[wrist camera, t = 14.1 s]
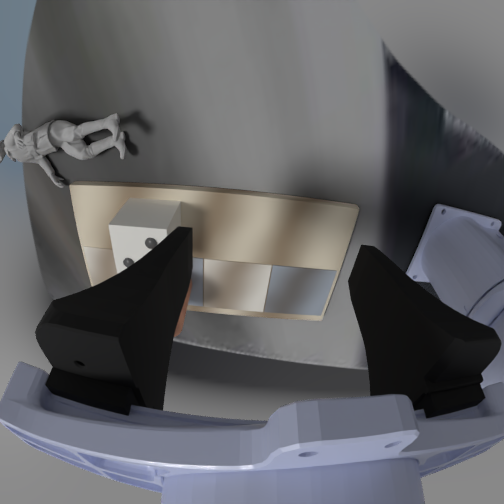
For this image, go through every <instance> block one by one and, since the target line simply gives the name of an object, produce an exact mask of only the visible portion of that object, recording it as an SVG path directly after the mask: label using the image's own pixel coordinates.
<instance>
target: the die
mask: <svg viewBox="0 0 504 504" xmlns="http://www.w3.org/2000/svg"><path fill="white" fill-rule="evenodd" d="M178 226H180V227H181V201H173V200H159V199H142V198H129V199H128V200H127V202H126V203H125V204H124V205H123V207H122V208H121V209H120V210H119V212H118V213H117V214H116V215H115V217H114V218H113V219H112V221H111V222H110V223H109V231H110V237H111V243H112V249H113V254H114V259H115V265H116V269H117V273H120V272H121V271H123V270H125V269H126V268H128V267H129V266H131V265H132V264H134V263H135V262H137V261H138V260H139V259H141V258H142V257H143V256H144V255H146V254H147V253H148V252H149V251H151V250H152V249H153V248H154V247H155V246H157V245H158V244H159V243H160V242H161V241H162V240H163V239H164V238H166V237H167V236H168V235H169V234H170V233H171V232H172V231H173V230H175V229H176V228H177V227H178Z"/></svg>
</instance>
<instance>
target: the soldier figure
mask: <svg viewBox="0 0 504 504" xmlns="http://www.w3.org/2000/svg"><path fill="white" fill-rule="evenodd" d="M119 123H120V119H119V115H118V113H116V114H112V115H110V116H109V117H107V118H105V119H100V120H96V121H91V122H85V123H83V124H80V125H79V126H78V125H77V126H76V125H75V124H73V123H70V122H68V121H64V120H57V121H55V120H52V121H50V122H47V123H45V124H44V125H42V126H41V127H39V128H37V129H35V130H34V131H24V132H23V128H22V126H21V125H20V124H15V125H14V126H13V127H12V129H11V130H10V131H9V133H8V135H7V136H6V138H5V140H2V142H1V141H0V163H1V162H2V160H3V158H4V156H5V155H6V154H7V155H8V157H10V159H12V160H13V161H15V162H16V159H17V160H18V161H19V162H31V163H37V164H39V165H40V166H41V167H42V168H43V169H44V170H45V172H46V173H47V175H48V176H49V177H50V178H51V180H52V181H53V182H54V184H55V185H57V186H58V187H62V188H63V187H64V186H62V185H61V183H59V180H63V179H62V178H59V177H57V176H55V171H54V169H53V167H52V166H51V164H50V162H49V160H48V159H47V158H46V157H45V156H46V154H49V153H51V152H54V151H57V150H58V148H59V147H61V148H63V149H64V151H65V152H66V153H67V154H69V155H71V156H73V157H75V158H77V159H80V160H86V159H89V158H94V157H95V156H96V155H97V154H99V153H100V152H102V151H104V150H106V149H108V148H111V147H113V146H115V147H116V148H118V150H119V151H120V158H121V159H125V157H126V152H127V149H126V146H125V142H124V141H125V134H124V132H120V128H119V125H118V124H119ZM102 129H108V130H110V131H111V132H112V133H113V136H109V137H107V138H105V139H101V140H99V141H96V142H93V143H91V144H90V145H89V146H87V145H86V143H85V141H84V140H82V139H83V138H84V137H85V135H88V134H90V133H93V132H95V131H99V130H102ZM15 158H16V159H15Z"/></svg>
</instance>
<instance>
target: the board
mask: <svg viewBox="0 0 504 504" xmlns="http://www.w3.org/2000/svg"><path fill="white" fill-rule="evenodd" d="M70 192H71V198H72V204H73V209H74V214H75V220H76V224H77V229H78V234H79V238H80V243H81V247H82V251H83V255H84V259H85V263H86V267H87V271H88V274H89V278H90V281H91V285H92V287H93V286H95V285H97V284H99V283H101V282H103V281H105V280H107V279H109V278H111V277H113V276H114V275H116V274H118V273H117V269H116V265H115V259H114V254H113V249H112V243H111V237H110V231H109V223H110V222H111V221H112V219H113V218H114V217H115V215H116V214H117V213H118V212H119V210H120V209H121V208H122V207H123V205H124V204H125V203H126V202H127V200H128V199H129V198H142V199H159V200H173V201H181V227H192V228H193V269H192V275H191V279H192V289H191V293H190V298H189V302H188V306H187V310H192V311H201V312H210V313H220V314H231V315H242V316H254V317H267V318H281V319H297V320H316V321H322V318H323V316H324V313H325V310H326V308H327V305H328V302H329V300H330V297H331V294H332V291H333V289H334V286H335V283H336V280H337V277H338V275H339V272H340V269H341V266H342V263H343V260H344V257H345V254H346V251H347V248H348V245H349V242H350V239H351V235H352V232H353V229H354V226H355V222H356V219H357V216H358V212H359V208H358V206H357V205H356V204H350V203H343V202H336V201H329V200H322V199H315V198H307V197H299V196H291V195H283V194H274V193H265V192H255V191H245V190H235V189H224V188H212V187H199V186H186V185H170V184H152V183H130V182H97V181H74V182H73V183H71V184H70Z"/></svg>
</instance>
